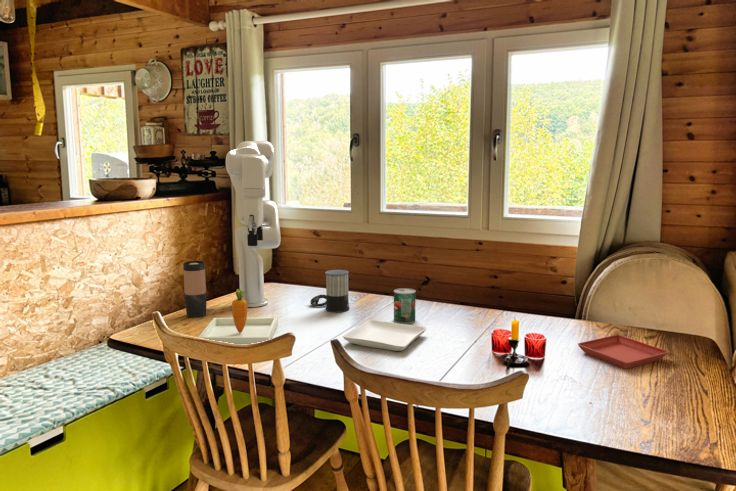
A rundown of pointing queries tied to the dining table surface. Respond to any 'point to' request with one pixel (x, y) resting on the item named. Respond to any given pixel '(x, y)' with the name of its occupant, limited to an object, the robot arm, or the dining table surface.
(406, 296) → the canned tomato
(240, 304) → the carrot
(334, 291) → the milk frother
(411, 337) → the salad plate
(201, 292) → the travel mug
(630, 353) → the plant saucer
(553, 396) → the dining table surface
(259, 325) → the tray
